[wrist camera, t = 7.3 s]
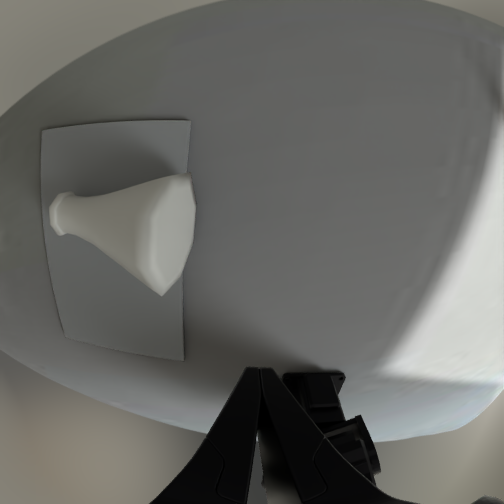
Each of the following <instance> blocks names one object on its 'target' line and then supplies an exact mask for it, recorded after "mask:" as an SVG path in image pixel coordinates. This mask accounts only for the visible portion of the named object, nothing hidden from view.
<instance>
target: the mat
mask: <svg viewBox="0 0 504 504" xmlns="http://www.w3.org/2000/svg"><path fill="white" fill-rule="evenodd" d="M190 130H191V121H183V120H148V121H122V122H107V123H95V124H85V125H76V126H68V127H61V128H54V129H47V130H42V143H41V202H42V217H43V228H44V237H45V245H46V252H47V259H48V265H49V271H50V276H51V282H52V286H53V291H54V296H55V300H56V304H57V308H58V312H59V316H60V320H61V324H62V327H63V331H64V334H65V337H66V338H68V339H72V340H76V341H80V342H83V343H87V344H91V345H96V346H100V347H104V348H109V349H113V350H118V351H123V352H128V353H133V354H139V355H144V356H150V357H156V358H162V359H169V360H176V361H183V362H184V360H185V355H184V329H183V271H182V274H181V277H180V278H179V279H178V280H177V281H176V282H175V283H174V284H173V285H172V287H171V288H170V289H169V290H168V291H167V292H166V293H165V294H164V295H163V296H160V295H159V294H157V293H156V292H155V291H153V290H152V289H150V288H149V287H148V286H146V285H145V284H144V283H142V282H141V281H140V280H139V279H137V278H136V277H135V276H133V275H132V274H131V273H130V272H128V271H127V270H126V269H125V268H123V267H122V266H121V265H120V264H118V263H117V262H116V261H114V260H113V259H112V258H110V257H109V256H108V255H106V254H105V253H104V252H103V251H101V250H100V249H99V248H97V247H96V246H95V245H94V244H92V243H90V242H88V241H86V240H84V239H82V238H80V237H79V236H77V235H73V234H69V233H66V234H64V235H61V236H59V235H57V233H56V232H55V231H54V229H53V228H52V227H51V225H50V216H49V207H50V205H51V204H52V202H53V201H54V199H55V198H56V197H57V195H58V194H61V193H65V192H69V191H72V192H74V194H75V196H82V197H90V196H98V195H105V194H109V193H112V192H116V191H119V190H123V189H126V188H129V187H132V186H135V185H139V184H142V183H145V182H148V181H152V180H155V179H159V178H163V177H167V176H171V175H177V174H183V173H187V163H188V151H189V140H190Z"/></svg>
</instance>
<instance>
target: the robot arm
mask: <svg viewBox="0 0 504 504" xmlns="http://www.w3.org/2000/svg"><path fill="white" fill-rule="evenodd" d="M286 378H288V379H286ZM345 378H346V377H345V374H344V373H287V374H284V375H283V376H282V379H280V378H279V376H278V375H277V374H276V372H275V371H274V370H273V369H272V368H266V367H261V368H260V369H259V368H258V367H246V368H245V370H244V372H243V374H242V375H241V377H240V379H239V381H238V383H237V384H236V386H235V388H234V390H233V391H232V393H231V395H230V397H229V398H228V400H227V402H226V404H225V405H224V407H223V409H222V410H221V412H220V414H219V416H218V417H217V419H216V421H215V422H214V424H213V426H212V427H211V429H210V431H209V432H208V434H207V436H206V438H205V439H204V440H203V442H202V444H201V445H200V447H199V448H198V450H197V451H196V453H195V454H194V456H193V457H192V459H191V460H190V461H189V462H188V463H187V465H186V466H185V467H184V469H183V470H182V471H181V472H180V473H179V474H178V475H177V476H176V477H175V478H174V479H173V480H172V482H171V483H170V484H169V485H168V486H167V487H166V488H165V489H164V490H163V491H162V492H161V493H160V494H159V495H158V496H157V497H156V498H155V499H154V500H153V501H152V502H150V503H149V504H247V498H248V492H249V485H250V479H251V472H252V465H253V457H254V451H255V444H256V437H257V436H258V443H259V450H260V457H261V463H262V470H263V479H262V482H261V484H262V487H264V488H265V489H266V495H267V502H268V504H418V503H413V502H409V501H404V500H400V499H396V498H394V497H391V496H389V495H387V494H386V493H384V492H383V491H381V490H380V489H379V488H377V487H376V483H375V479H374V475H376V474H379V473H380V472H381V469H380V463H379V459H378V456H377V452H376V449H375V447H374V444H373V441H372V439H371V437H370V434H369V432H368V430H367V427H366V425H365V423H364V421H363V418H362V416H361V415H358V416H355V418H352V419H350V420H347V421H346V420H345V417H344V413H343V410H342V407H341V403H340V400H339V397H338V394H339V392H340V389H341V387H342V385H343V383H344V381H345ZM472 504H504V502H503V501H502V500H501V499H498V498H496V497H491V496H486V495H485V496H483V497H481V498H480V499H478V500H476V501H475V502H473V503H472Z"/></svg>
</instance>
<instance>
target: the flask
mask: <svg viewBox="0 0 504 504" xmlns="http://www.w3.org/2000/svg"><path fill="white" fill-rule="evenodd" d="M196 205H197V203H196V198H195V193H194V187H193V182H192V177H191V172H189V173H183V174H177V175H171V176H167V177H163V178H159V179H155V180H152V181H148V182H145V183H142V184H139V185H135V186H132V187H129V188H126V189H123V190H119V191H116V192H112V193H109V194H105V195H98V196H90V197H82V196H75V194H74V192H72V191H69V192H65V193H61V194H58V195H57V197H56V198H55V199H54V201H53V202H52V204H51V205H50V207H49V216H50V225H51V227H52V228H53V229H54V231H55V232H56V233H57V235H59V236H61V235H64V234H66V233H69V234H73V235H77V236H79V237H80V238H82V239H84V240H86V241H88V242H90V243H92V244H94V245H95V246H96V247H97V248H99V249H100V250H101V251H103V252H104V253H105V254H106V255H108V256H109V257H110V258H112V259H113V260H114V261H116V262H117V263H118V264H120V265H121V266H122V267H123V268H125V269H126V270H127V271H128V272H130V273H131V274H132V275H133V276H135V277H136V278H137V279H139V280H140V281H141V282H142V283H144V284H145V285H146V286H148V287H149V288H150V289H152V290H153V291H155V292H156V293H157V294H159V295H160V296H163V295H164V294H165V293H166V292H167V291H168V290H169V289H170V288H171V287H172V285H173V284H174V283H175V282H176V281H177V280H178V279H179V278H180V277H181V274H182V271H183V269H184V266H185V263H186V261H187V258H188V256H189V253H190V251H191V248H192V245H193V243H194V229H195V217H196Z"/></svg>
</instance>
